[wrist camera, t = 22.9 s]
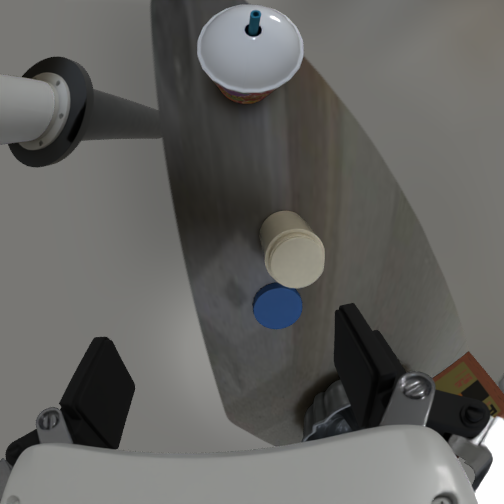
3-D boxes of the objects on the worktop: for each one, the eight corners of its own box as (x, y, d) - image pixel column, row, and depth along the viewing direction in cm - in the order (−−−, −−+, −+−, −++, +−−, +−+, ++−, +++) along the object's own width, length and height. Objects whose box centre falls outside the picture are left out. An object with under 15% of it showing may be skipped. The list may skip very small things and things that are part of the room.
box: (468, 351, 51) (512, 405, 33) (469, 370, 54) (506, 420, 36) (413, 391, 54) (448, 454, 35) (418, 406, 57) (448, 463, 38)
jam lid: (278, 330, 44) (279, 336, 43) (242, 306, 42) (243, 313, 41) (310, 299, 42) (312, 305, 41) (275, 272, 41) (276, 278, 39)
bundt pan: (267, 403, 51) (272, 444, 42) (385, 328, 46) (410, 365, 36) (330, 443, 59) (339, 474, 50) (422, 388, 54) (439, 417, 45)
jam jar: (252, 248, 39) (256, 281, 30) (270, 203, 37) (281, 223, 28) (296, 264, 40) (312, 299, 31) (316, 221, 38) (339, 246, 29)
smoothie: (198, 89, 31) (155, 35, 13) (236, 39, 29) (237, -50, 10) (255, 123, 33) (276, 102, 15) (292, 73, 31) (349, 11, 12)
